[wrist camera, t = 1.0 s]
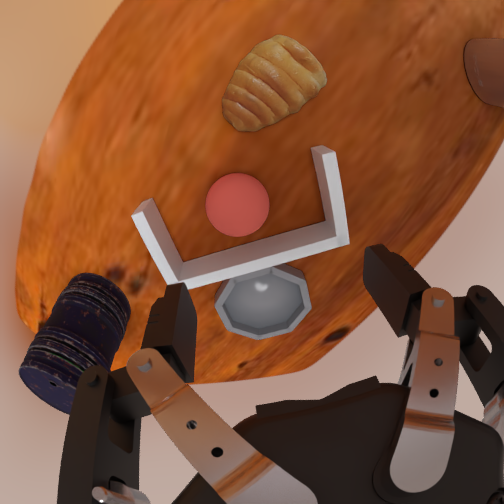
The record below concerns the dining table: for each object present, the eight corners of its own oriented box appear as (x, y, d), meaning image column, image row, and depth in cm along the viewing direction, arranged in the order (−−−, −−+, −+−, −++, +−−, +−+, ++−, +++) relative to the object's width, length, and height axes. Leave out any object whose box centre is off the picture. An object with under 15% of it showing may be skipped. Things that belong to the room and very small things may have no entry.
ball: (256, 159, 24) (262, 174, 19) (272, 211, 27) (280, 237, 22) (199, 177, 25) (191, 196, 20) (219, 227, 27) (216, 256, 23)
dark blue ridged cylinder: (127, 337, 35) (101, 428, 22) (68, 313, 32) (29, 395, 20) (136, 288, 31) (99, 394, 18) (67, 261, 28) (7, 350, 15)
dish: (297, 249, 29) (300, 257, 28) (311, 315, 35) (315, 324, 33) (205, 275, 30) (203, 285, 29) (235, 335, 36) (235, 345, 34)
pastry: (258, 147, 24) (262, 154, 20) (202, 100, 21) (196, 99, 18) (327, 80, 21) (343, 76, 17) (274, 31, 18) (281, 19, 15)
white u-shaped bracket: (322, 145, 24) (335, 151, 21) (337, 227, 28) (349, 243, 25) (142, 201, 25) (131, 215, 22) (177, 273, 30) (172, 293, 27)
